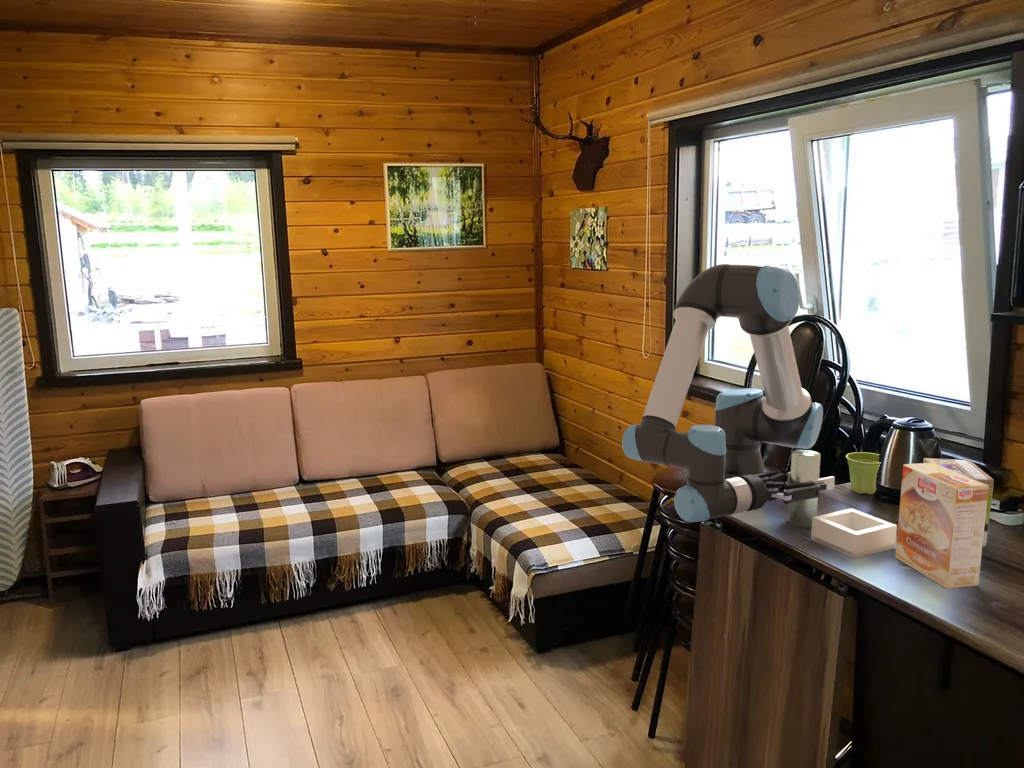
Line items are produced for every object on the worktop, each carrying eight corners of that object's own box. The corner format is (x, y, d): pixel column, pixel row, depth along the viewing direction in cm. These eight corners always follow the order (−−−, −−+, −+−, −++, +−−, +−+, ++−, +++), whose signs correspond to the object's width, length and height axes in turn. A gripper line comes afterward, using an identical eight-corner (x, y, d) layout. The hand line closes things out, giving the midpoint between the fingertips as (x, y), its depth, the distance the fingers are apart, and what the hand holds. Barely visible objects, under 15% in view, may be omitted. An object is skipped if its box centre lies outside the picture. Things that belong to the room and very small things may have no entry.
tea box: (988, 548, 170) (995, 479, 167) (935, 544, 172) (941, 476, 169) (964, 522, 184) (970, 458, 181) (915, 519, 186) (921, 456, 183)
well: (810, 539, 175) (812, 517, 174) (849, 530, 180) (851, 508, 179) (855, 558, 165) (856, 535, 164) (895, 548, 170) (896, 525, 169)
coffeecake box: (893, 557, 165) (901, 463, 161) (925, 554, 167) (933, 461, 163) (945, 589, 151) (955, 487, 147) (980, 586, 152) (990, 484, 148)
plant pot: (868, 499, 199) (870, 464, 198) (835, 488, 207) (837, 455, 206) (892, 492, 204) (895, 458, 202) (859, 482, 212) (862, 450, 210)
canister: (781, 520, 186) (785, 451, 183) (801, 516, 189) (805, 448, 185) (802, 529, 181) (806, 458, 178) (822, 524, 183) (826, 455, 180)
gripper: (711, 498, 184) (789, 482, 194) (772, 525, 167) (854, 507, 177) (712, 465, 183) (790, 451, 193) (774, 489, 166) (857, 473, 176)
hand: (821, 478), depth 185 cm, fingers closed on canister, 6 cm apart
